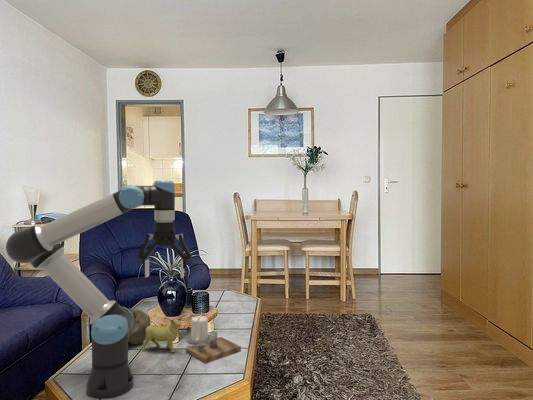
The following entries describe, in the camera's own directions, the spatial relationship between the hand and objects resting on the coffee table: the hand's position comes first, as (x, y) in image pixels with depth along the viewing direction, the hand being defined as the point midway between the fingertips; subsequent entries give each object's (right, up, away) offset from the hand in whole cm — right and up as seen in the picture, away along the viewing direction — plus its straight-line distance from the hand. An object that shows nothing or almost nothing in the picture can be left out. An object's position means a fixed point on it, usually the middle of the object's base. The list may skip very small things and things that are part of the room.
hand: (164, 276), depth 158 cm
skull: (-21, -34, +24) cm, 47 cm away
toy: (-5, -34, +16) cm, 38 cm away
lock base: (+17, -34, +16) cm, 41 cm away
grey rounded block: (+9, -33, +29) cm, 44 cm away
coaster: (+9, -34, +29) cm, 45 cm away
